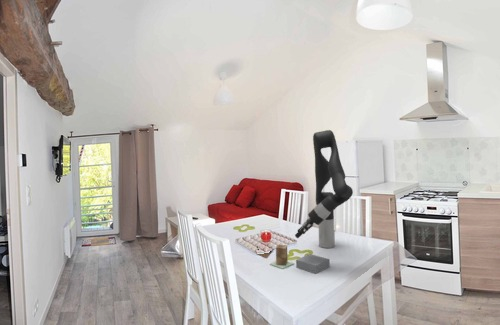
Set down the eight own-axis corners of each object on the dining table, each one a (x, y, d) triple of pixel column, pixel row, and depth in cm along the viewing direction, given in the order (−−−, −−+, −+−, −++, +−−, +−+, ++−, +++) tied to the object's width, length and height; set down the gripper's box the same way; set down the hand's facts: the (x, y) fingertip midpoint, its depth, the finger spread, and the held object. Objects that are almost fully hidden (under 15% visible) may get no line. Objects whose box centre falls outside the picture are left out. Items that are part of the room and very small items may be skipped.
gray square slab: (310, 261, 174) (310, 253, 174) (329, 266, 165) (329, 259, 165) (296, 267, 166) (296, 259, 165) (315, 273, 157) (315, 265, 157)
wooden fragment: (256, 244, 206) (256, 243, 206) (273, 244, 205) (273, 243, 205) (254, 259, 180) (254, 257, 180) (274, 259, 180) (274, 257, 180)
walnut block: (287, 262, 172) (287, 245, 171) (285, 265, 167) (285, 248, 166) (278, 261, 173) (277, 244, 173) (276, 264, 168) (275, 247, 168)
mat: (280, 260, 176) (280, 259, 176) (293, 264, 170) (293, 263, 170) (269, 264, 170) (269, 263, 170) (282, 269, 164) (282, 268, 164)
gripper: (315, 205, 171) (294, 225, 175) (312, 210, 157) (289, 233, 161) (325, 215, 169) (304, 236, 173) (324, 222, 156) (300, 244, 160)
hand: (297, 234), depth 167 cm, fingers open, 8 cm apart
